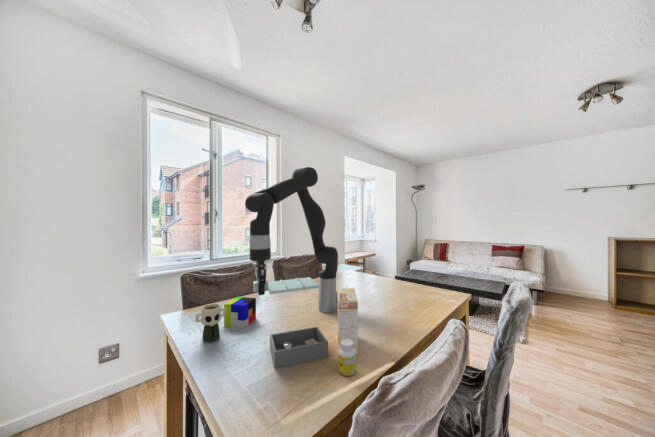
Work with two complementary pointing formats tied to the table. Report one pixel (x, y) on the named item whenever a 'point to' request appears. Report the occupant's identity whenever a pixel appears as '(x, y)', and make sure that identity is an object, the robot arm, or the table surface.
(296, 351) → the tub
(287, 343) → the steel bushing
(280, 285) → the lid
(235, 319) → the puzzle toy
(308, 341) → the walnut block
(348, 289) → the coffeecake box
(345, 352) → the supplement bottle
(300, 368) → the table surface
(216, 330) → the character mug
